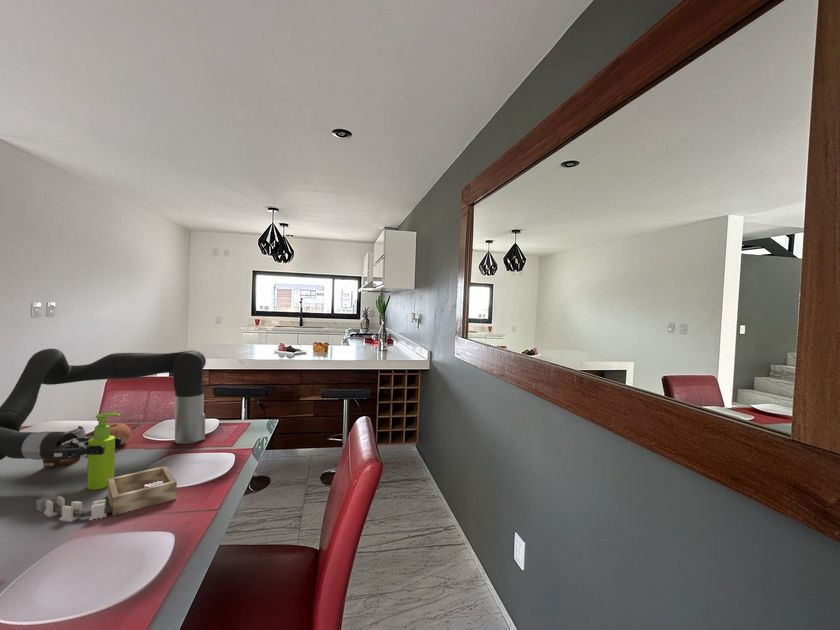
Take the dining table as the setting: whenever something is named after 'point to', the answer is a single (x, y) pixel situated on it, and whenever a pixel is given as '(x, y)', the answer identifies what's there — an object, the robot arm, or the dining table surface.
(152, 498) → the open square wooden frame
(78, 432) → the food container
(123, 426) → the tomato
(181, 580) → the dining table surface
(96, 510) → the cable route
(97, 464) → the soap dispenser
